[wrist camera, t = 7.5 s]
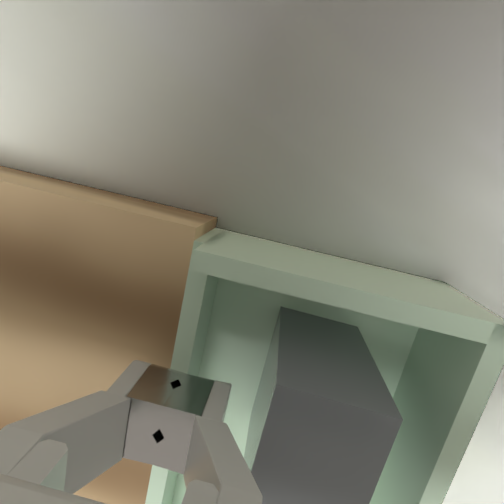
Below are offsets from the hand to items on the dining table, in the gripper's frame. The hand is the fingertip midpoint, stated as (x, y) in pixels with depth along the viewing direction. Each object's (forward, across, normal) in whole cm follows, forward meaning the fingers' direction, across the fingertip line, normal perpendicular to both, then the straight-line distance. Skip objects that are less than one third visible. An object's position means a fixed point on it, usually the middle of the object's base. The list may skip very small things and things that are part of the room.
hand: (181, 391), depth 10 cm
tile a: (+1, -2, 0) cm, 3 cm away
